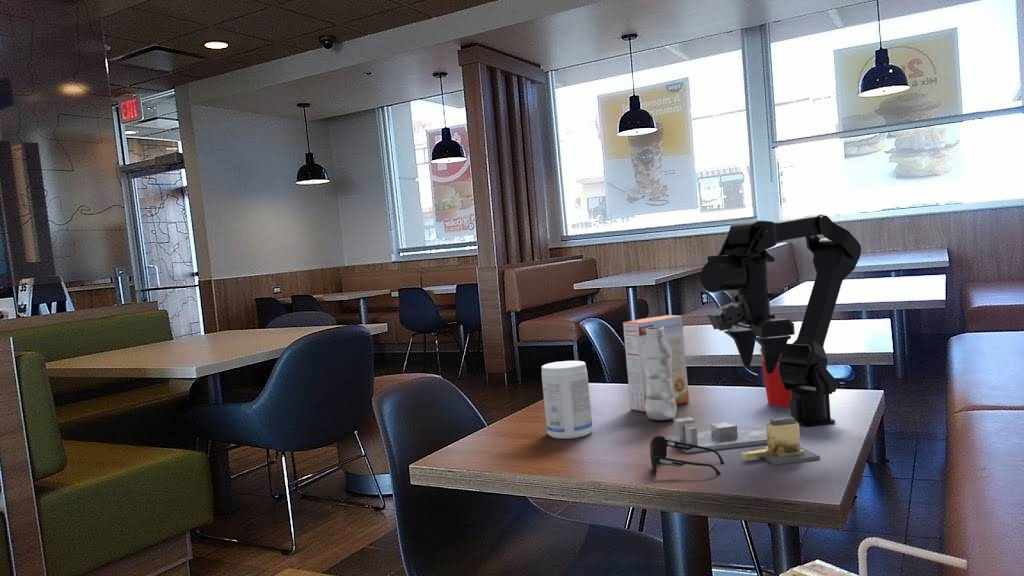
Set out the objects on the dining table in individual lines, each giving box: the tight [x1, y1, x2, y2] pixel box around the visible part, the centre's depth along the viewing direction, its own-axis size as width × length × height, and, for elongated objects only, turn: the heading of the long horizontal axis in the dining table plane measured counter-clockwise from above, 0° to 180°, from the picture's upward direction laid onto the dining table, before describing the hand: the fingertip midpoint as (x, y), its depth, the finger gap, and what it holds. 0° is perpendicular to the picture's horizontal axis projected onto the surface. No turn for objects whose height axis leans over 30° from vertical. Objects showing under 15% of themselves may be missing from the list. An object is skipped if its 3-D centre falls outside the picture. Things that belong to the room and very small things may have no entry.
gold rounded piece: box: [741, 416, 804, 460], centre depth 120 cm, size 10×5×6 cm, turn 100°
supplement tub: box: [541, 360, 593, 440], centre depth 148 cm, size 10×10×15 cm
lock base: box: [666, 416, 768, 454], centre depth 133 cm, size 19×10×5 cm, turn 97°
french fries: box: [759, 347, 792, 408], centre depth 159 cm, size 9×4×13 cm, turn 39°
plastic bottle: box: [641, 327, 678, 422], centre depth 153 cm, size 6×7×20 cm
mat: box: [751, 446, 821, 466], centre depth 121 cm, size 8×8×1 cm
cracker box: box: [622, 314, 690, 413], centre depth 166 cm, size 14×6×21 cm, turn 122°
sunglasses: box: [649, 435, 725, 476], centre depth 119 cm, size 10×12×5 cm
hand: (757, 369), depth 135 cm, fingers open, 9 cm apart
